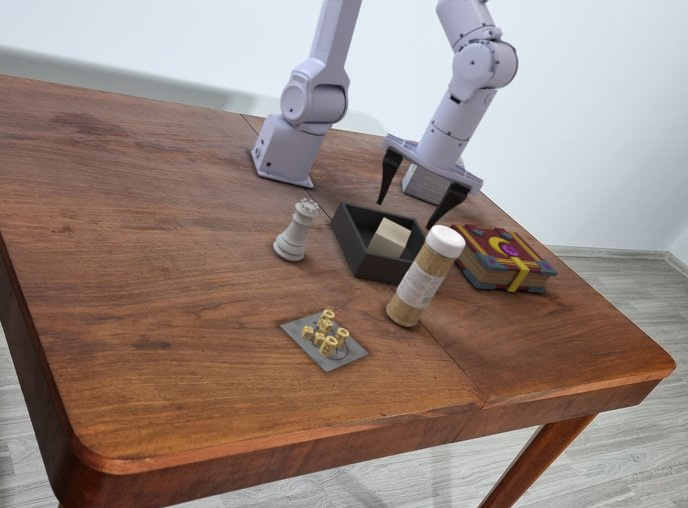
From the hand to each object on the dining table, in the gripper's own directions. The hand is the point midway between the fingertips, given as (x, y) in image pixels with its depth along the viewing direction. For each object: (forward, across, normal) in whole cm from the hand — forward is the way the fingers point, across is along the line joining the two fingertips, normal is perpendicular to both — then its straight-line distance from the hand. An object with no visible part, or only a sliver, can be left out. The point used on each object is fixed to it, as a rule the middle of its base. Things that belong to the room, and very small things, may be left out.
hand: (403, 214), depth 100 cm
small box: (+7, 0, 0) cm, 7 cm away
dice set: (+8, +2, +26) cm, 27 cm away
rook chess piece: (+8, +12, +12) cm, 18 cm away
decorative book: (+8, -17, -14) cm, 24 cm away
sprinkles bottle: (+8, -6, +13) cm, 16 cm away
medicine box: (+8, -2, -29) cm, 30 cm away
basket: (+8, 0, 0) cm, 8 cm away
